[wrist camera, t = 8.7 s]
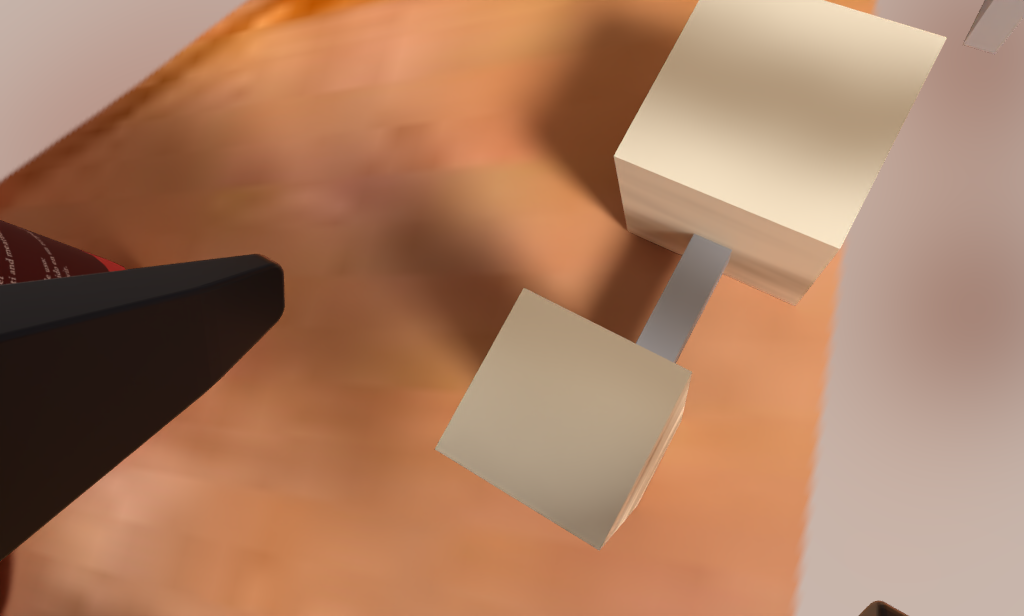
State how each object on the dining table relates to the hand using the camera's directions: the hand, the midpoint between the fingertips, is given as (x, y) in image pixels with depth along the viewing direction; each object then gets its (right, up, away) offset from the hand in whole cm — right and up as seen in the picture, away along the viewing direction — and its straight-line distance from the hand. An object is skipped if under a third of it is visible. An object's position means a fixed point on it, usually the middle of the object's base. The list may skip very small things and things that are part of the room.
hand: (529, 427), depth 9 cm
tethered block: (+6, +2, +13) cm, 15 cm away
